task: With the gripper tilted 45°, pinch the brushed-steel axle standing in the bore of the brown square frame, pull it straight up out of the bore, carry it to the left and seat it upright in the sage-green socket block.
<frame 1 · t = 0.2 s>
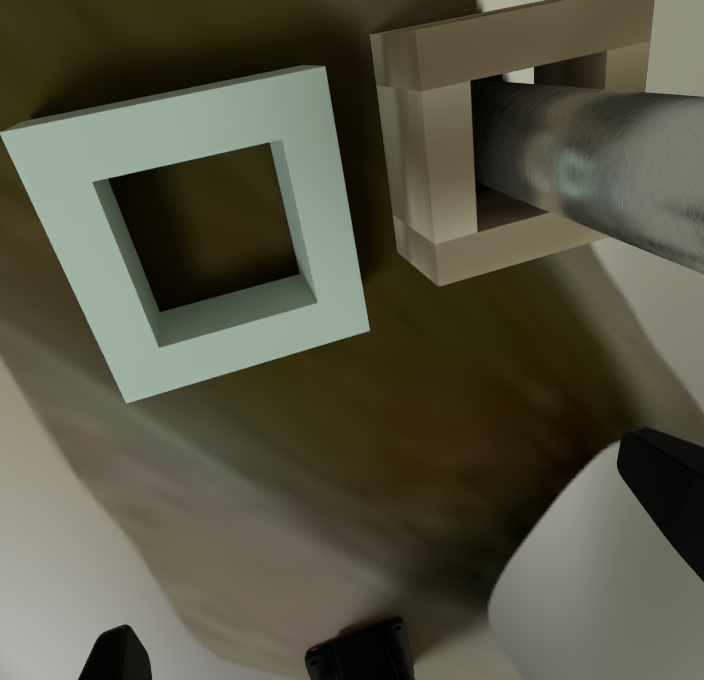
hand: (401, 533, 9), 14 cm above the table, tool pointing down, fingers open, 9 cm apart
socket block: (210, 224, 20), on the table
brown square frame: (479, 131, 21), on the table
axle: (601, 160, 15), in the brown square frame
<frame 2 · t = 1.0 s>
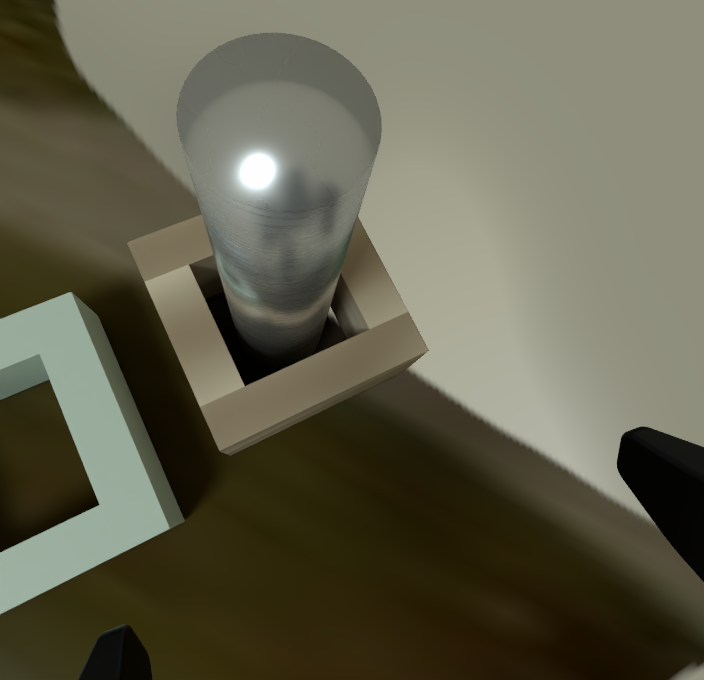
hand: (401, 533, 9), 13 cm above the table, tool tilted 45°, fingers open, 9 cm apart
socket block: (23, 467, 20), on the table
brown square frame: (279, 327, 23), on the table
axle: (280, 265, 16), in the brown square frame
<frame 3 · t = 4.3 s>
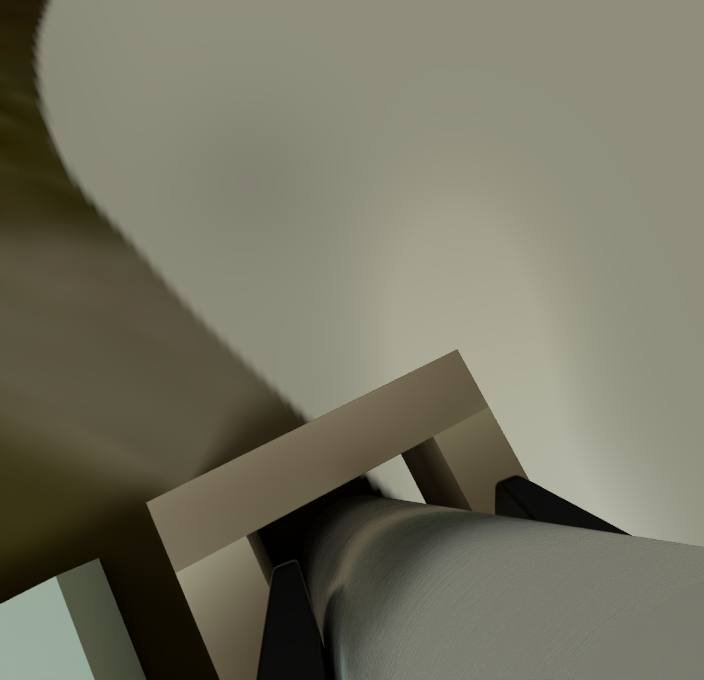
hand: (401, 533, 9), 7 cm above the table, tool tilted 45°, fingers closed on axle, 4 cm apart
brown square frame: (364, 559, 16), on the table
axle: (429, 617, 9), in the brown square frame, touching gripper
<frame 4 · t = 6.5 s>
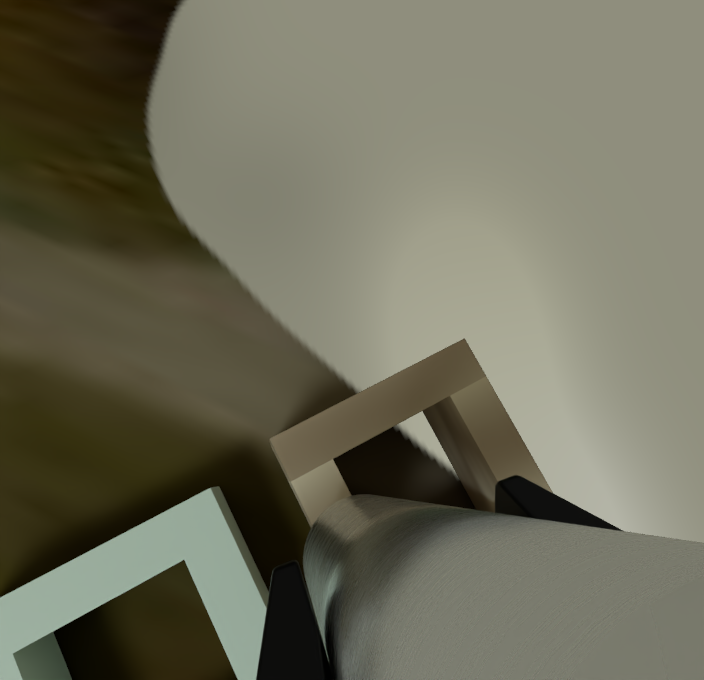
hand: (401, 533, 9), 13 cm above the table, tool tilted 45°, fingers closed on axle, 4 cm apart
socket block: (157, 658, 20), on the table
brown square frame: (400, 486, 22), on the table
axle: (430, 616, 9), point 13 cm above the table, touching gripper
when the fingers open (8 cm above the table, at t = 9.0 s): axle drops 1 cm, resting in socket block.
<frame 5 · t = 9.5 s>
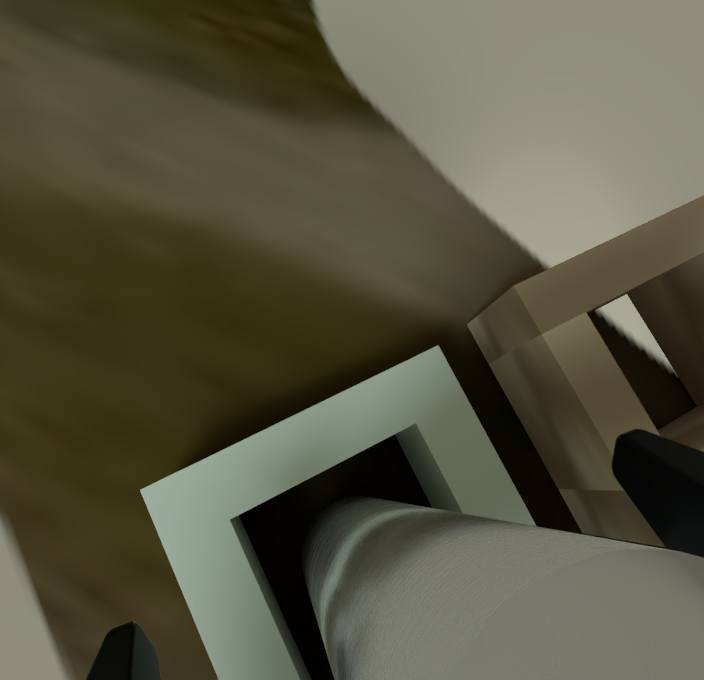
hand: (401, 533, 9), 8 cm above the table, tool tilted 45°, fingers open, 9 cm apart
socket block: (357, 553, 17), on the table
brown square frame: (611, 376, 20), on the table
axle: (413, 605, 10), in the socket block
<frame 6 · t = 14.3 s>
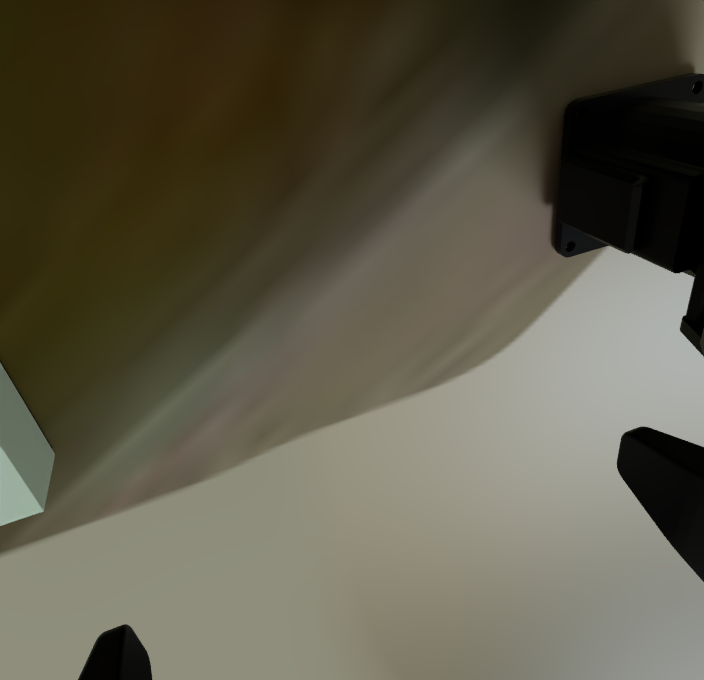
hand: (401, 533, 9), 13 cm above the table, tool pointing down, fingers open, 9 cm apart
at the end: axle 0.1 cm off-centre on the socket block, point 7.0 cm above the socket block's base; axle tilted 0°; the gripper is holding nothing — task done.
